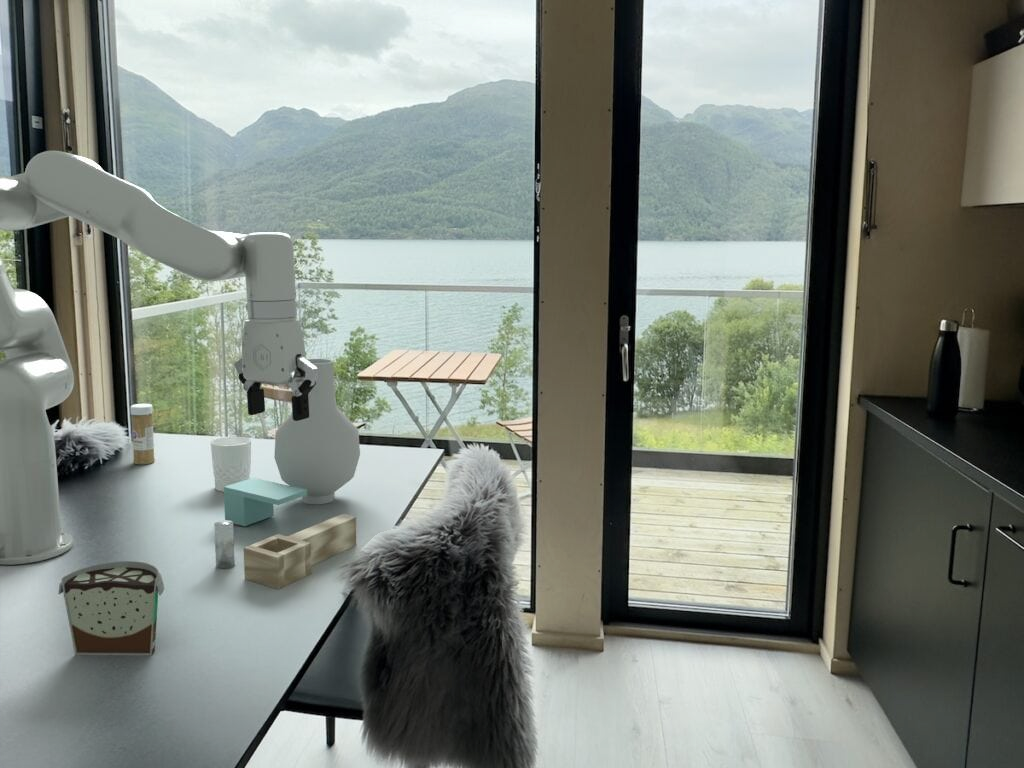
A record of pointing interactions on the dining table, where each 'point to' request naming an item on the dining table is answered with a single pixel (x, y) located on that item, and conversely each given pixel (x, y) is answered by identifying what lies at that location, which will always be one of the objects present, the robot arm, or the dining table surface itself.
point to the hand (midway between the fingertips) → (278, 416)
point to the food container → (113, 608)
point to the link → (297, 551)
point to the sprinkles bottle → (142, 433)
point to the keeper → (256, 499)
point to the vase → (318, 443)
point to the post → (224, 544)
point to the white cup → (230, 460)
